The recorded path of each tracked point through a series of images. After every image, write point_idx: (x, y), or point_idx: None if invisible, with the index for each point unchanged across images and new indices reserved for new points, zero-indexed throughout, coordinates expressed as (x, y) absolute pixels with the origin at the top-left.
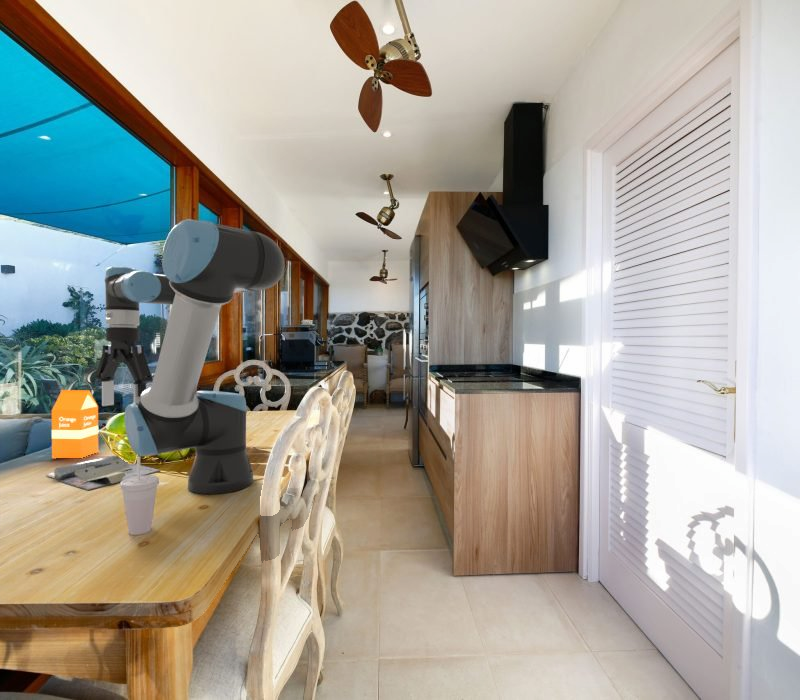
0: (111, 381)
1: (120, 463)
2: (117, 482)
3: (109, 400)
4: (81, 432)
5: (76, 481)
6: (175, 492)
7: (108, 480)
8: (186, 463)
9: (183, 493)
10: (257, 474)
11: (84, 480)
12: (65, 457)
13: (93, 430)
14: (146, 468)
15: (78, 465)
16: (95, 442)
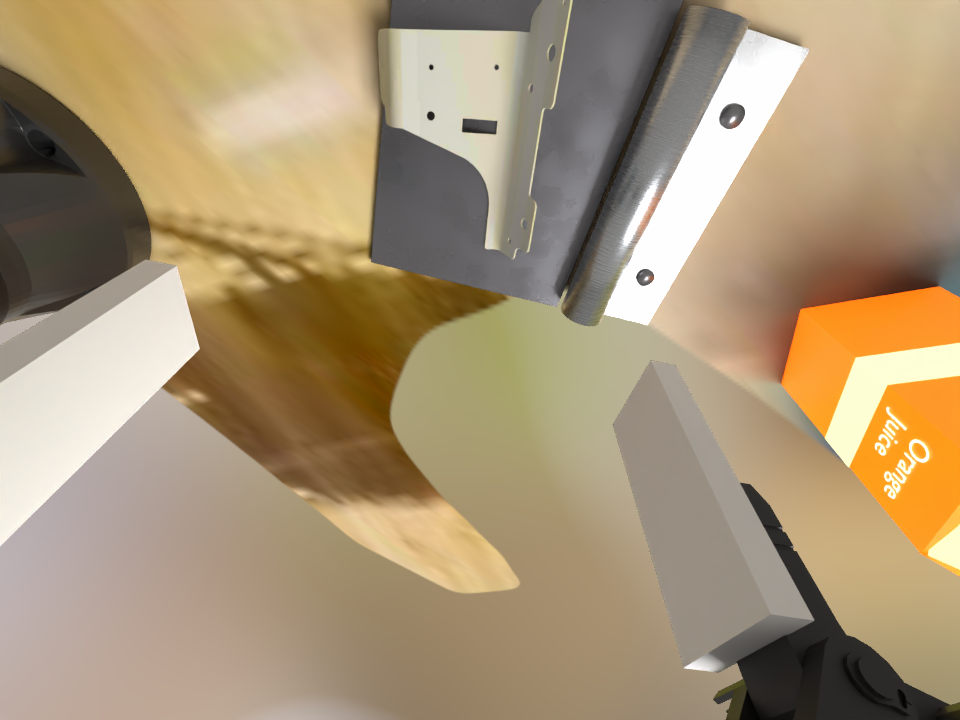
0: (697, 653)
1: (517, 232)
2: None
3: (638, 430)
4: (875, 381)
5: None
6: (46, 39)
7: None
8: (373, 352)
9: (7, 38)
10: None
11: None
12: (876, 299)
13: (845, 432)
14: (436, 264)
15: (660, 118)
16: (808, 401)
